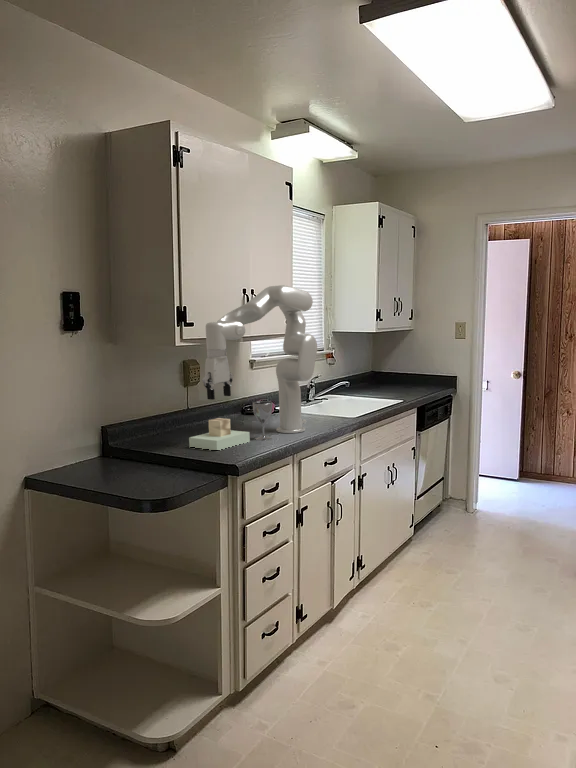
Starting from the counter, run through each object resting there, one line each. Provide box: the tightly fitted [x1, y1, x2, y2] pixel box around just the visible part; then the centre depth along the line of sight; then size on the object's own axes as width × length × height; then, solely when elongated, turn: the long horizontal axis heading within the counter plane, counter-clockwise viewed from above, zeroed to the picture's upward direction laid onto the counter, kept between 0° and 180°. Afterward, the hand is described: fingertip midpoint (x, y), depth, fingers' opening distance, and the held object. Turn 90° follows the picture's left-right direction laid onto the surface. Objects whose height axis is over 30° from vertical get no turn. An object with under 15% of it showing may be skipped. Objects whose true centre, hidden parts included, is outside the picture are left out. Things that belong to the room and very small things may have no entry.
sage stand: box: [188, 429, 251, 451], centre depth 246 cm, size 20×14×4 cm
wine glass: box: [252, 400, 273, 441], centre depth 255 cm, size 8×8×15 cm
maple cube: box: [207, 417, 232, 437], centre depth 245 cm, size 6×6×6 cm
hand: (219, 397), depth 244 cm, fingers open, 9 cm apart
